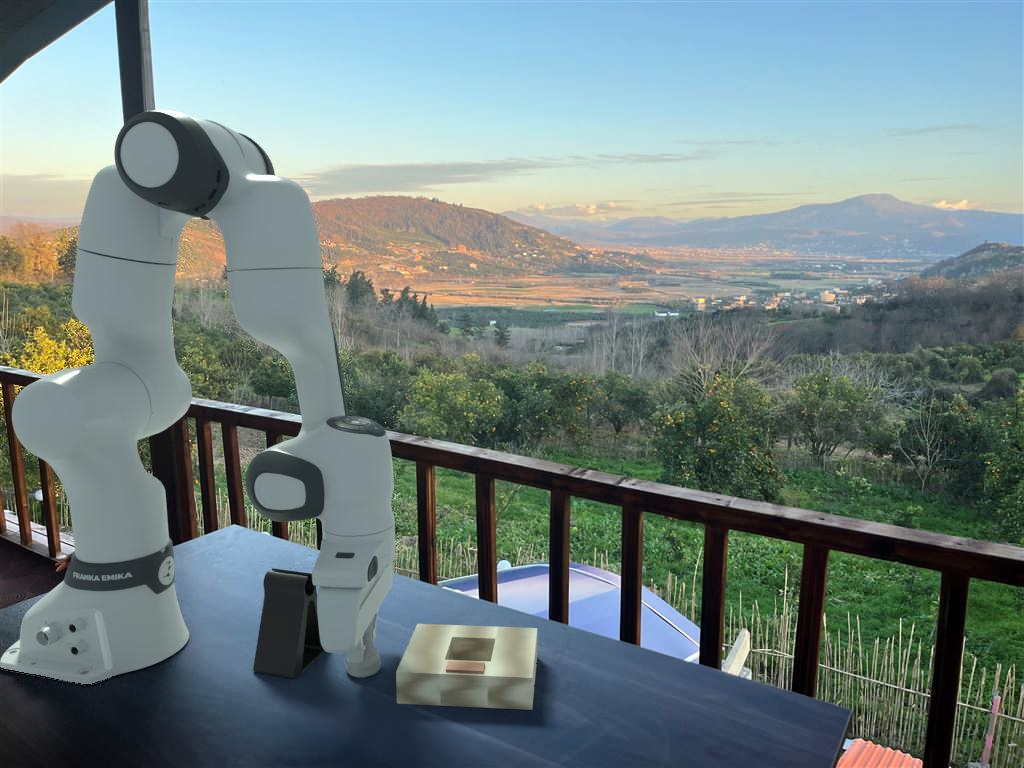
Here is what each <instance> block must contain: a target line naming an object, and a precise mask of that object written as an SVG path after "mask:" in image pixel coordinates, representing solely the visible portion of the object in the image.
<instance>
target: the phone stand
mask: <svg viewBox="0 0 1024 768" xmlns="http://www.w3.org/2000/svg"><path fill="white" fill-rule="evenodd" d="M262 582H263V593H264V597H263V603H262V604H263V605H262V609H261V617H260V622H259V629H258V630H259V631H258V637H257V643H256V649H255V655H254V662H253V666H252V667H253V669H252V671H253V672H254V673H260V674H265V675H271V676H275V677H276V676H277V677H282V678H288V679H291V680H292V679H293V680H296V679H297V678H298V677H299V676H300V675H302V673H303V672H305V670H306V671H307V669H308V668H309V667H310V666H311V665H312V664H313V663H314V662H315V661H317V659H319V658H320V657H321V656H322V655H323V654H324V653H326V651H325V650H324V649H323V647H322V645H321V642H320V635H319V625H318V613H317V594H318V590H317V586H314V585H313V583H312V572H311V573H309V572H302V571H297V570H289V569H281V568H273V567H272V568H271V570H267V571H266V573H265V575H264V578H263V581H262Z"/></svg>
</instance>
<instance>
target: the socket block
mask: <svg viewBox="0 0 1024 768" xmlns="http://www.w3.org/2000/svg"><path fill="white" fill-rule="evenodd" d="M537 661H538V628H537V627H536V628H535V627H516V626H515V627H514V626H512V627H511V626H488V625H487V626H485V625H461V624H456V625H455V624H437V623H436V624H435V623H434V624H433V623H417V624H416V626H415V629H414V631H413V633H412V635H411V637H410V639H409V642H408V644H407V647H406V649H405V651H404V652H403V655H402V657H401V659H400V662H399V665H398V666H397V669H396V673H395V679H396V680H395V681H396V704H398V705H400V704H401V705H419V706H420V705H421V706H441V707H442V706H443V707H445V706H446V707H464V708H465V707H466V708H482V709H483V708H484V709H485V708H486V709H489V708H490V709H505V710H506V709H509V710H510V709H511V710H529V711H533V706H534V695H535V686H534V685H536V684H535V683H536V673H537V664H536V663H538V662H537Z"/></svg>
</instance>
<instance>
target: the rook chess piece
mask: <svg viewBox="0 0 1024 768" xmlns="http://www.w3.org/2000/svg"><path fill="white" fill-rule="evenodd" d="M374 619H375V615H374V617H373V619H372V620H371V622H370V624H369V626H368V627H367V629H366V631H365V633H364V636H363V637H362V638H363V644H366V655H365V657H364V659H363V661H362V662H361V663H352V662H350V661H349V656H348V655H347V658H346V661H345V662H346V666H345V670H346V673H348V674H349V675H350V677H351V676H352V677H354V678H357V679H359V678H360V679H363V678H368V677H372V676H374V675H376V674H377V673H378V672H379V670H380V669H381V667H382V662H381V656H380V653H379V651H378V650H377V648H376V647H375V643H374V640H373V637H372V631H373V629H374V628H373V626H372V622H373V620H374Z"/></svg>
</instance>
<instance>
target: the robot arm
mask: <svg viewBox="0 0 1024 768" xmlns="http://www.w3.org/2000/svg"><path fill="white" fill-rule="evenodd" d="M114 162H115V163H114V164H111V165H107V166H105V167H103V168H102V169H100V170H99V171H98V172H97V173H96V174H95V176H94V177H93V180H92V181H91V185H90V188H89V191H88V193H87V194H88V195H87V197H86V202H85V205H84V208H83V212H82V217H81V221H80V228H79V234H78V239H77V240H78V241H77V248H76V258H75V259H76V260H75V266H74V277H73V286H72V287H73V288H72V296H71V298H72V299H71V310H72V312H73V314H74V316H75V318H77V321H79V322H80V323H81V324H82V325H84V326H85V327H87V329H88V332H89V333H90V337H91V340H92V346H93V355H94V356H93V357H94V358H93V361H92V364H89V365H81V366H76V367H75V366H74V367H71V368H65V369H64V368H63V369H60V370H57V371H55V372H52V373H50V374H47V375H46V376H44V377H42V378H39V379H38V380H35V381H34V382H31V383H30V384H28V385H26V386H25V387H24V388H22V389H21V391H20V392H19V393H18V394H17V396H16V397H15V399H14V401H13V402H14V403H13V405H12V410H11V411H12V412H11V422H12V423H11V424H12V427H13V431H14V434H15V436H16V438H17V439H18V441H19V442H20V444H21V445H22V446H23V447H24V448H25V449H26V451H28V452H29V453H31V454H32V455H33V456H36V457H38V458H39V459H41V460H43V461H44V462H46V463H47V464H48V465H49V466H50V467H51V469H52V470H53V471H54V473H55V474H56V475H57V477H58V479H59V481H60V483H61V485H62V488H63V490H64V492H65V495H66V498H67V501H68V507H69V513H70V519H71V520H70V521H71V527H72V535H73V544H74V551H73V552H71V553H69V554H68V555H66V557H65V558H63V559H62V560H60V561H59V562H57V563H55V566H59V567H57V569H56V570H55V571H56V572H60V571H62V570H63V569H65V568H67V569H66V572H65V576H64V579H63V580H62V581H61V582H60V583H59V584H58V585H56V586H55V587H54V588H52V589H51V590H50V591H49V592H48V593H46V594H45V595H44V596H43V597H42V598H40V599H39V600H38V601H37V602H35V603H34V604H33V605H32V606H31V607H30V608H29V609H28V610H27V612H25V615H24V616H23V618H22V621H21V626H20V633H19V639H18V640H17V641H16V642H14V643H13V644H12V645H11V646H10V647H8V649H6V650H5V652H4V653H3V654H2V656H1V657H0V667H1V668H4V669H9V670H15V671H19V672H24V673H29V674H36V675H41V676H46V677H50V678H49V679H51V678H54V679H53V680H56V679H59V680H58V681H62V680H63V682H67V681H68V683H72V682H75V683H74V684H78V683H81V684H80V685H83V684H91V685H93V684H92V683H95V682H98V681H101V682H103V681H105V679H106V680H108V679H110V678H112V676H113V677H115V676H117V675H122V674H126V673H129V672H133V671H137V670H140V669H144V668H148V667H150V666H153V665H155V664H157V663H160V662H162V661H164V660H167V659H168V658H169V657H171V656H174V655H175V654H176V653H177V652H179V651H180V650H182V648H184V647H185V645H186V644H187V643H188V642H189V639H190V632H189V630H188V629H189V628H188V627H187V626H186V623H185V620H184V617H183V615H182V614H183V613H182V612H181V608H180V604H179V601H178V597H177V591H176V587H175V577H176V576H175V575H176V573H175V572H176V571H175V570H176V565H175V563H176V562H175V553H174V552H175V550H174V544H173V540H172V538H170V533H169V522H168V520H169V519H168V508H167V496H166V488H165V486H164V485H163V483H162V481H161V480H159V479H158V478H157V477H156V476H153V475H152V474H149V473H148V472H147V471H146V469H145V466H144V465H143V462H142V460H141V457H140V455H139V450H138V441H141V440H142V439H145V438H148V437H151V436H154V435H156V434H160V433H162V432H163V431H165V430H167V429H169V427H171V426H172V425H174V424H175V423H176V422H177V421H179V420H180V419H181V418H182V417H184V416H185V414H186V413H187V412H188V410H189V409H190V406H191V403H192V399H193V389H192V384H191V381H190V379H189V376H188V375H187V373H186V372H185V371H184V369H182V368H181V367H180V365H179V363H178V361H177V357H176V352H175V347H174V340H173V334H172V310H173V300H174V291H175V282H176V274H177V267H178V266H177V265H178V264H177V263H178V258H179V257H178V256H179V255H178V254H179V250H180V249H179V248H180V240H181V237H182V236H181V234H182V232H183V230H184V227H185V226H186V224H188V222H190V221H191V220H192V219H193V218H200V219H201V220H204V221H210V220H211V221H212V222H214V224H215V225H216V226H217V227H218V228H219V231H220V233H221V235H222V237H223V238H222V239H223V244H224V250H225V251H224V252H225V262H226V263H225V264H226V266H225V267H226V271H227V272H226V276H227V277H226V278H227V287H228V288H227V289H228V296H229V300H230V305H231V308H232V311H233V314H234V318H235V320H236V322H237V324H238V325H239V326H240V327H241V329H243V330H244V332H246V333H247V334H248V335H250V336H251V337H253V338H254V339H255V340H256V341H257V342H258V341H259V342H260V343H262V344H264V345H267V346H269V347H271V348H273V349H274V350H276V351H278V353H280V354H281V355H283V357H284V358H285V359H286V361H288V363H289V365H290V367H291V369H292V372H293V375H294V383H295V386H296V392H297V398H298V403H299V410H300V416H301V428H300V431H299V432H298V435H297V436H295V437H293V438H291V439H286V440H284V441H282V442H279V443H276V444H274V445H272V446H270V447H268V448H265V450H263V451H261V452H259V453H258V454H257V455H255V456H254V457H252V460H251V461H250V462H249V464H248V466H247V469H246V473H245V480H244V482H245V490H246V495H247V497H248V499H249V502H250V503H251V505H252V506H253V507H254V509H255V510H256V511H257V512H258V513H259V515H261V516H263V517H265V518H266V519H268V520H270V521H273V522H277V523H278V522H279V523H287V522H299V521H306V520H312V519H314V518H315V519H319V520H320V522H321V528H322V540H321V543H320V549H319V554H318V557H317V559H316V561H315V563H314V566H313V568H312V571H311V574H312V583H313V585H314V586H316V587H318V590H317V613H318V625H319V635H320V642H321V645H322V647H323V649H324V650H325V653H330V654H348V655H347V657H348V656H349V661H350V662H352V663H361V662H362V661H363V659H364V657H365V655H366V644H363V638H362V637H363V636H364V633H365V631H366V629H367V627H368V626H369V624H370V622H371V620H372V619H373V617H374V615H375V619H374V620H373V622H372V626H373V628H374V629H373V631H372V637H373V641H374V640H375V639H376V637H377V623H378V617H379V610H380V607H381V605H382V603H383V602H384V600H385V598H386V596H387V595H388V593H389V591H390V590H391V588H392V586H393V583H394V577H395V576H394V575H395V574H394V573H395V572H394V571H395V569H394V561H395V559H396V525H395V524H396V522H395V516H394V512H393V509H392V496H393V493H394V490H395V489H394V488H395V484H394V482H395V481H394V467H393V466H394V465H393V456H392V448H391V444H390V443H391V442H390V439H389V436H388V433H387V430H386V429H385V428H384V427H383V425H382V424H380V423H378V422H377V421H375V420H374V419H373V420H372V419H370V418H366V417H363V416H356V415H350V414H349V409H348V408H349V407H348V402H347V401H348V400H347V396H346V389H345V384H344V377H343V371H342V365H341V357H340V352H339V348H338V343H337V339H336V338H337V337H336V334H335V332H334V328H333V324H332V322H331V319H330V315H329V311H328V306H327V299H326V292H325V284H324V282H325V281H324V271H323V269H322V268H323V260H322V253H321V245H320V244H321V243H320V239H319V233H318V228H317V224H316V219H315V216H314V214H315V213H314V211H313V207H312V204H311V200H310V198H309V195H308V193H307V191H306V190H305V189H304V188H303V186H301V185H299V184H298V183H297V182H295V181H293V180H292V179H290V178H288V177H287V178H286V177H284V176H280V175H276V174H275V173H276V172H275V168H274V166H273V163H272V160H271V158H270V156H269V155H268V154H267V151H265V150H264V149H263V148H262V146H260V144H258V142H257V141H255V140H253V139H252V138H251V137H249V136H248V135H245V134H243V133H240V132H237V131H236V130H233V129H232V128H229V127H227V126H226V125H223V124H221V123H218V122H217V121H213V120H209V119H203V118H198V117H194V116H193V117H192V116H189V115H187V114H185V113H183V112H180V111H174V110H168V109H153V110H152V109H151V110H146V111H142V112H140V113H138V114H136V115H133V116H132V117H131V118H129V119H128V120H127V121H126V122H125V124H123V126H122V127H121V128H120V131H119V132H118V134H117V137H116V140H115V144H114ZM19 672H18V673H19ZM24 673H23V674H24ZM29 674H28V675H29ZM107 678H108V679H107ZM102 680H103V681H102ZM98 683H99V682H98ZM95 684H96V683H95Z"/></svg>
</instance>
